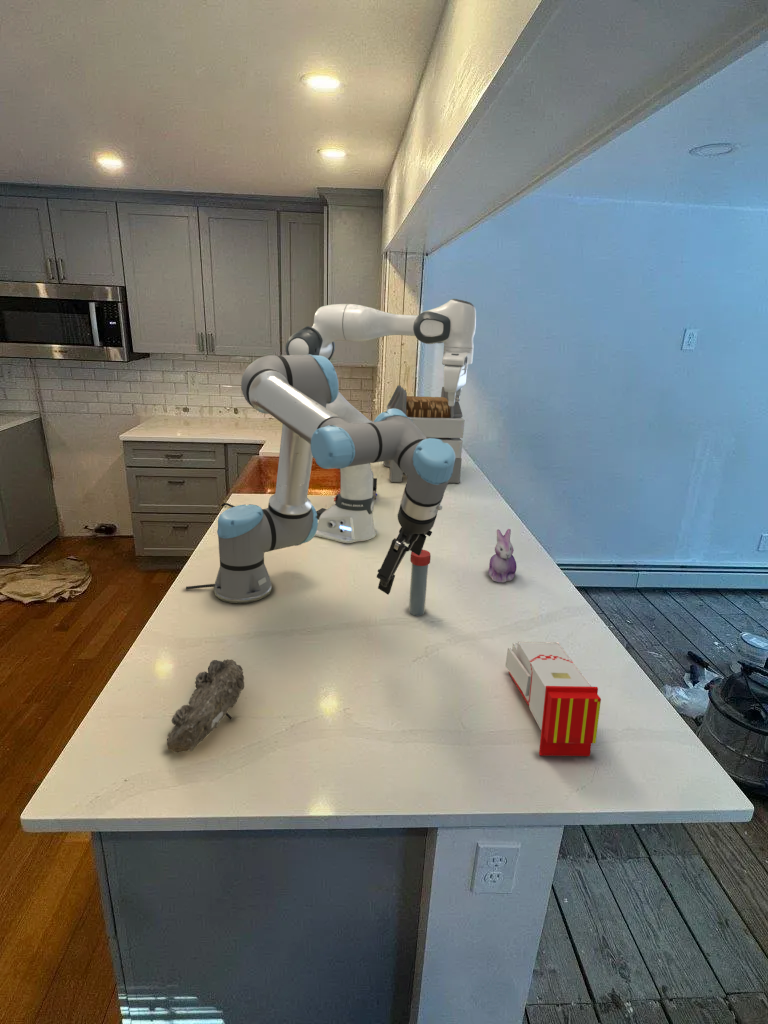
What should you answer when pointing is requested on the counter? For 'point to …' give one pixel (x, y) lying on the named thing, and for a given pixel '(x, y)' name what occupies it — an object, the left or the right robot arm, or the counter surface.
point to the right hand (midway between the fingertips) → (454, 403)
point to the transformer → (431, 425)
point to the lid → (420, 558)
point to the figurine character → (374, 487)
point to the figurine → (502, 559)
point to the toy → (556, 697)
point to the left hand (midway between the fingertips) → (399, 570)
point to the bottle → (418, 589)
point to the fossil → (206, 705)
